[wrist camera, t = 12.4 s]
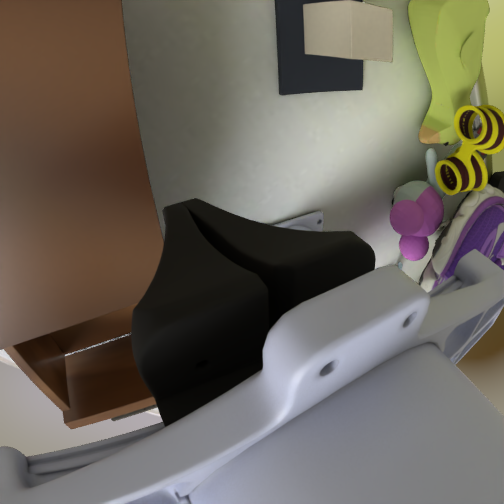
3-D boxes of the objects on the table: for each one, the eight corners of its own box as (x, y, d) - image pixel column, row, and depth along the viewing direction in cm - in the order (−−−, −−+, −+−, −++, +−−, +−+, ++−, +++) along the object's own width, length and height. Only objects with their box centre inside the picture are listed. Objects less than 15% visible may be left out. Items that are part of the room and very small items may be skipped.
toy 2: (436, 103, 29) (358, 192, 30) (481, 121, 25) (405, 222, 26) (447, 172, 38) (384, 250, 39) (482, 192, 34) (419, 277, 35)
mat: (358, 89, 24) (362, 90, 24) (279, 94, 22) (282, 95, 21) (357, -18, 18) (361, -18, 18) (272, -32, 15) (276, -33, 15)
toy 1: (405, -31, 12) (447, 174, 27) (487, -51, 12) (509, 102, 26) (342, -29, 17) (401, 149, 31) (437, -55, 16) (470, 86, 31)
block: (345, 54, 21) (393, 62, 18) (304, 54, 20) (351, 59, 16) (344, 9, 19) (393, 9, 15) (302, 4, 17) (349, -1, 14)
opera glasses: (453, 93, 21) (494, 124, 18) (482, 95, 22) (519, 124, 19) (423, 175, 29) (454, 209, 26) (452, 169, 30) (481, 199, 27)
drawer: (183, 354, 31) (208, 410, 26) (82, 389, 27) (94, 447, 22) (128, 179, 19) (146, 229, 14) (-20, 235, 16) (-46, 301, 11)
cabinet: (146, 214, 22) (177, 289, 16) (-4, 269, 18) (-23, 358, 12) (107, -6, 13) (118, -51, 6) (-71, 69, 9) (-145, 88, 2)
